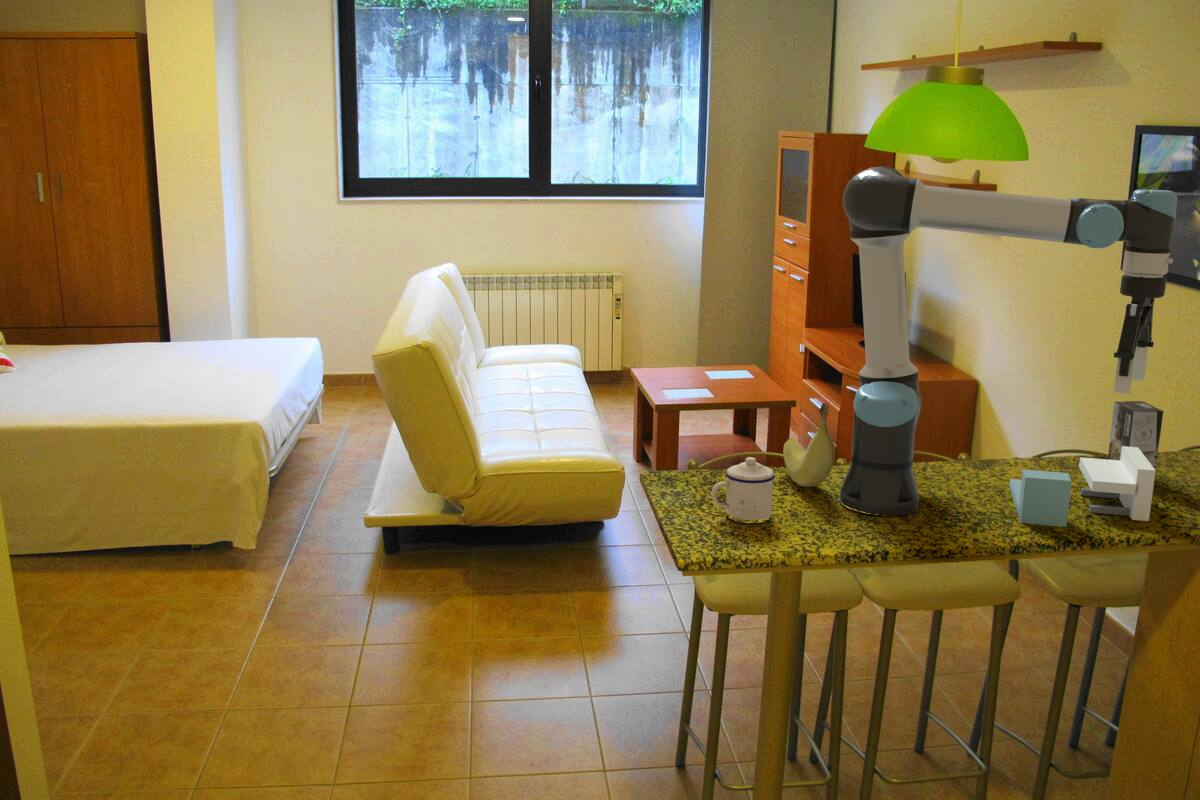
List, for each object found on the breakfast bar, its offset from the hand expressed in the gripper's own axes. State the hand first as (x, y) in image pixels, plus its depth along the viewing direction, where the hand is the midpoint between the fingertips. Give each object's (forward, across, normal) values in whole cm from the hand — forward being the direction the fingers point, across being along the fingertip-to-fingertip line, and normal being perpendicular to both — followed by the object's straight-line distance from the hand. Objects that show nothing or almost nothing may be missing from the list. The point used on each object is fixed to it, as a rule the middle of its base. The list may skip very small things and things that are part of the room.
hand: (1129, 386), depth 207 cm
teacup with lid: (+25, -48, +56) cm, 78 cm away
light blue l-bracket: (+25, -7, +13) cm, 29 cm away
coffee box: (+25, +22, +1) cm, 33 cm away
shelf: (+24, +2, +1) cm, 25 cm away
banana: (+25, -23, +55) cm, 64 cm away
